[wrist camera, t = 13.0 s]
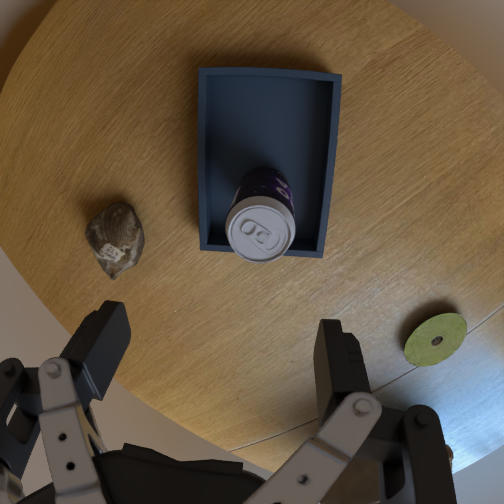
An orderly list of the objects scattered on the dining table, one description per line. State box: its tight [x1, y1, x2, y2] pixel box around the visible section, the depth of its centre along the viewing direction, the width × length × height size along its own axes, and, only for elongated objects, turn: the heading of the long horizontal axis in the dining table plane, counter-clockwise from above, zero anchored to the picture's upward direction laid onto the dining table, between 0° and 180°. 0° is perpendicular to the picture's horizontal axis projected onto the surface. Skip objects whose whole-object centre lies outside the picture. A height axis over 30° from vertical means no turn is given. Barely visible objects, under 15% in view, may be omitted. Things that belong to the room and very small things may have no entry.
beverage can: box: [225, 167, 296, 263], centre depth 30 cm, size 6×6×12 cm
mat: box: [404, 313, 467, 367], centre depth 43 cm, size 11×11×2 cm
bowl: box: [320, 445, 453, 504], centre depth 49 cm, size 27×29×20 cm
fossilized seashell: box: [85, 202, 144, 280], centre depth 37 cm, size 8×7×10 cm
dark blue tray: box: [198, 67, 342, 258], centre depth 32 cm, size 20×14×4 cm
